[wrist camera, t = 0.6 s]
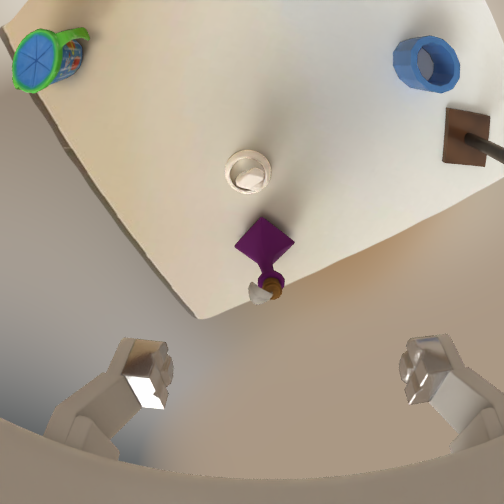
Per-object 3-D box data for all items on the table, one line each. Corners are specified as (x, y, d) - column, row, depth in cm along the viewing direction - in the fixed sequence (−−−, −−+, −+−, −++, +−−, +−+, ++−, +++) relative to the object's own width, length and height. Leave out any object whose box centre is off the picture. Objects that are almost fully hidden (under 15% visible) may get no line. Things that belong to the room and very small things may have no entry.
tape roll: (383, 66, 40) (400, 65, 34) (408, 29, 36) (427, 25, 30) (423, 99, 42) (443, 104, 36) (446, 63, 38) (468, 64, 32)
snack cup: (45, 101, 44) (11, 111, 35) (32, 56, 39) (-3, 60, 30) (109, 63, 41) (77, 64, 32) (95, 14, 36) (63, 7, 27)
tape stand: (445, 107, 42) (502, 126, 28) (486, 115, 41) (543, 136, 27) (442, 161, 47) (492, 195, 33) (481, 164, 46) (533, 198, 32)
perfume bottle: (294, 233, 56) (302, 297, 41) (266, 259, 60) (265, 328, 44) (261, 208, 54) (259, 267, 39) (235, 237, 57) (223, 302, 42)
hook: (292, 139, 43) (289, 185, 42) (266, 162, 54) (263, 200, 54) (241, 128, 41) (236, 176, 40) (225, 154, 52) (220, 194, 52)
